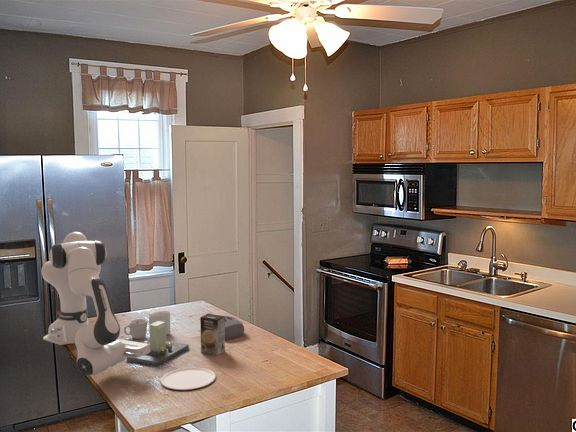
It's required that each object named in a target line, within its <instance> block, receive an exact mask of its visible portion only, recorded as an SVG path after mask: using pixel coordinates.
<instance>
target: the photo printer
mask: <svg viewBox="0 0 576 432" xmlns="http://www.w3.org/2000/svg"><path fill="white" fill-rule="evenodd" d="M148 314H149V315H148V326H149V325H150V324H152V323H155V322H157V321H162V322H166V336H168V335H171V313H170V310H168V309H157V310H153V311H151V312H150V313H148Z"/></svg>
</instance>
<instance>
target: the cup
mask: <svg viewBox="0 0 576 432" xmlns="http://www.w3.org/2000/svg"><path fill="white" fill-rule="evenodd" d="M147 327H148V320H147V319H145V318H137V319H133V320H130V321H129V324H126V325H125V326H124V327H123V332H124V334H125V335H126V336H131V339H135V340H142V339H144V338H146V337H147ZM127 328H129V332H128V331H126V330H127Z"/></svg>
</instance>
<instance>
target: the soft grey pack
mask: <svg viewBox="0 0 576 432" xmlns="http://www.w3.org/2000/svg"><path fill="white" fill-rule="evenodd" d="M224 316H225V340H232V339H233V340H234V339H236V338H241V337H242V336H243V335H244V334H245V327H244V324H243V322H242V321H239V319H237V318H236V317H233V316H230V315H224Z"/></svg>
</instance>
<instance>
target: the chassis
mask: <svg viewBox="0 0 576 432" xmlns="http://www.w3.org/2000/svg"><path fill="white" fill-rule="evenodd" d="M189 345H190V344H186V343H181V342H175V341H174V342H173V341H167V340H166V349H165V350H164V346H161V347H160V349H161V352H160V353H158V351H152V350H150V353H148V354H146V355H144V356H141V357H137V358H134V357H128V356H126V362H130V363H136V364H142V365H146V366H153V367H157V368H158V367H160V366H161V365H164V364H165V363H167V362H169V361H170V360H172V359H174V358H176V357H177V356H179V355H181V354H182V353H185V352H187V351H189V349H190V346H189Z"/></svg>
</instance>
